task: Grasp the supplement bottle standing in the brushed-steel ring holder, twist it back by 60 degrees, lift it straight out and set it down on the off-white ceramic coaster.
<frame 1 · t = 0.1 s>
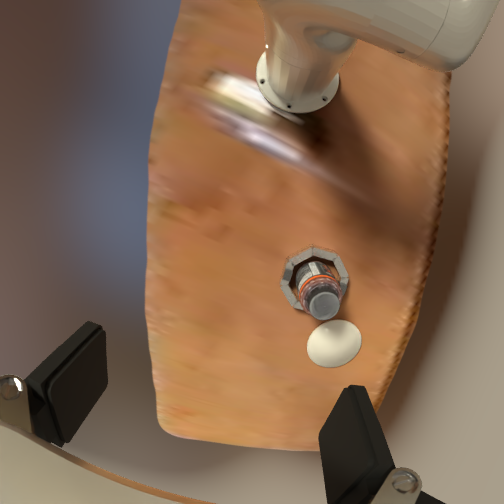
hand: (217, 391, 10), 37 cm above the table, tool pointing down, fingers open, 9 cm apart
ring holder: (313, 277, 47), on the table
coaster: (334, 343, 50), on the table
supplement bottle: (313, 276, 47), resting in ring holder
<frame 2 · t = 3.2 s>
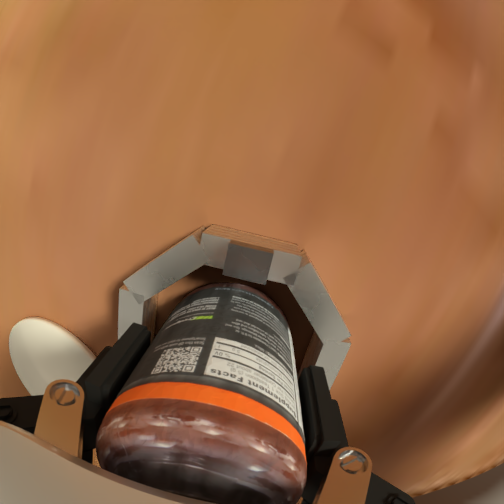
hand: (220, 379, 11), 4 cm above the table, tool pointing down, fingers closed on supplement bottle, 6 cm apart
ring holder: (231, 334, 14), on the table
coaster: (61, 378, 16), on the table
supplement bottle: (231, 332, 14), resting in ring holder, touching gripper
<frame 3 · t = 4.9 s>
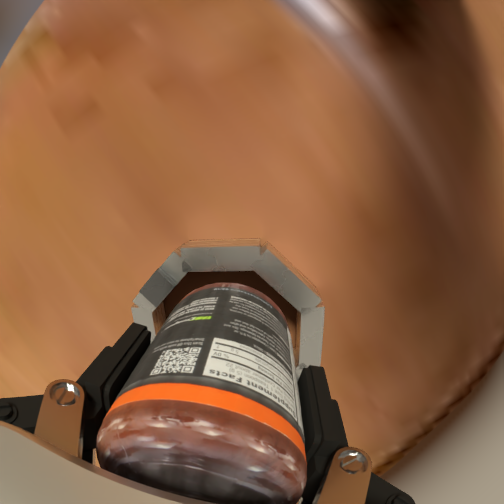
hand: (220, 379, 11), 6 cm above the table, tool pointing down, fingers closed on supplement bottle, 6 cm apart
ring holder: (229, 325, 17), on the table
supplement bottle: (230, 332, 14), point 3 cm above the table, touching gripper
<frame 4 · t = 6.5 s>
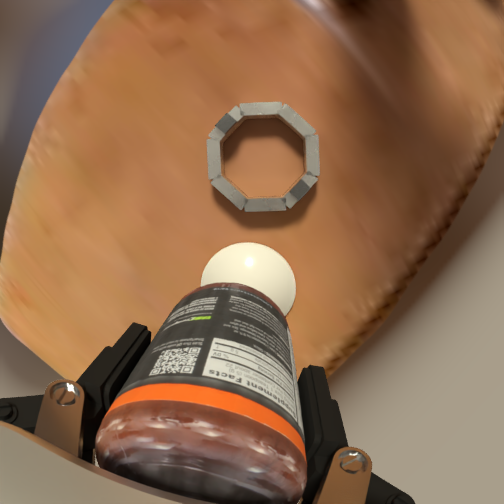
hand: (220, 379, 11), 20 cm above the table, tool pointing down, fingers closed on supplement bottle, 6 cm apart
ring holder: (263, 156, 28), on the table
coaster: (248, 287, 32), on the table
supplement bottle: (230, 332, 14), point 17 cm above the table, touching gripper
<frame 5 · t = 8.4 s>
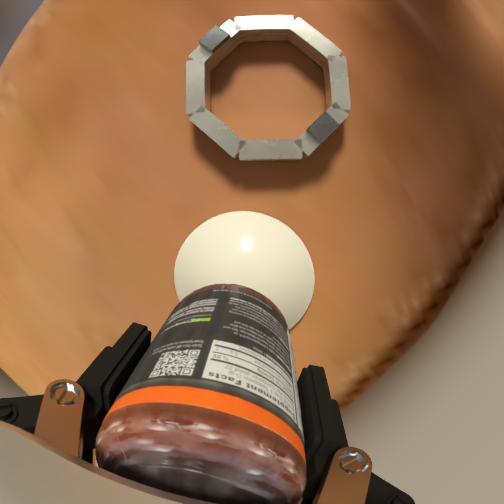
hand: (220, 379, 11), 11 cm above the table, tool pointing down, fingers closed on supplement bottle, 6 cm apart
ring holder: (267, 88, 18), on the table
coaster: (243, 280, 21), on the table
supplement bottle: (230, 333, 14), point 7 cm above the table, touching gripper
when the fingers open (5 cm above the table, at t = 9.9 s): supplement bottle drops 1 cm, resting on coaster.
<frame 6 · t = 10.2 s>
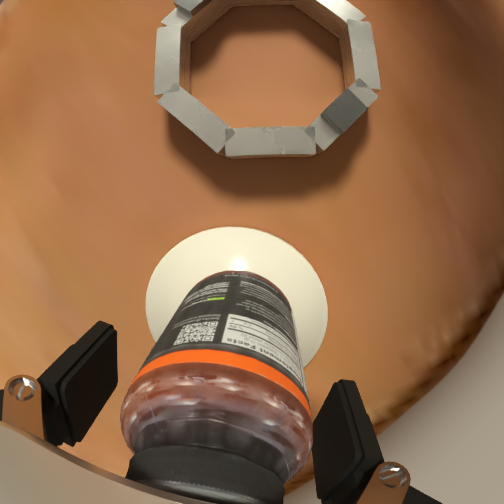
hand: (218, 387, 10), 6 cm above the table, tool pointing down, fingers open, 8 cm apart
ring holder: (266, 62, 13), on the table
coaster: (235, 316, 16), on the table
supplement bottle: (238, 317, 16), resting on coaster
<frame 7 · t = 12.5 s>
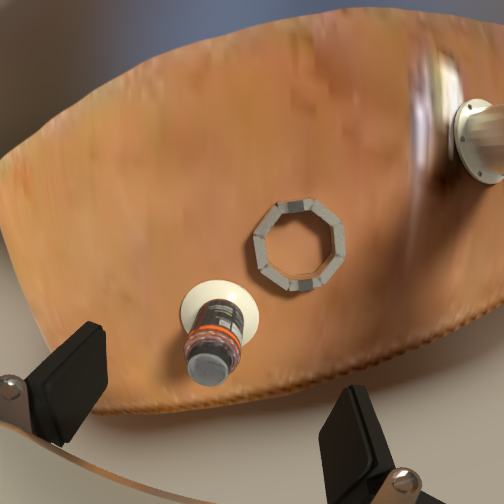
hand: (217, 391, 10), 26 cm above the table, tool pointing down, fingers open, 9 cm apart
ring holder: (298, 242, 35), on the table
coaster: (219, 316, 37), on the table
supplement bottle: (221, 317, 37), resting on coaster
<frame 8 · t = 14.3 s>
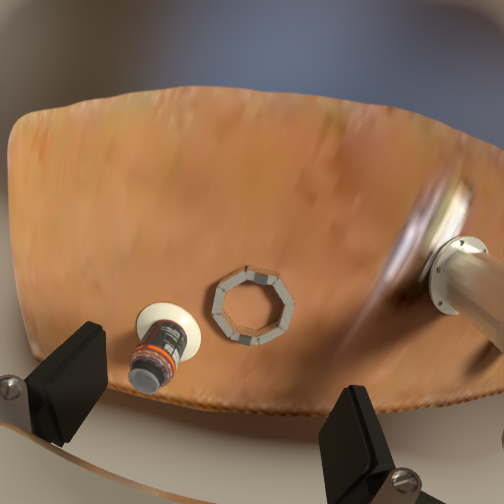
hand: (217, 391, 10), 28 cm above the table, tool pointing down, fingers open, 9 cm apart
ring holder: (253, 303, 40), on the table
coaster: (168, 332, 42), on the table
supplement bottle: (169, 334, 41), resting on coaster
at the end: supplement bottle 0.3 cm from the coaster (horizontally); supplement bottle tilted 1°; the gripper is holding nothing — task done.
